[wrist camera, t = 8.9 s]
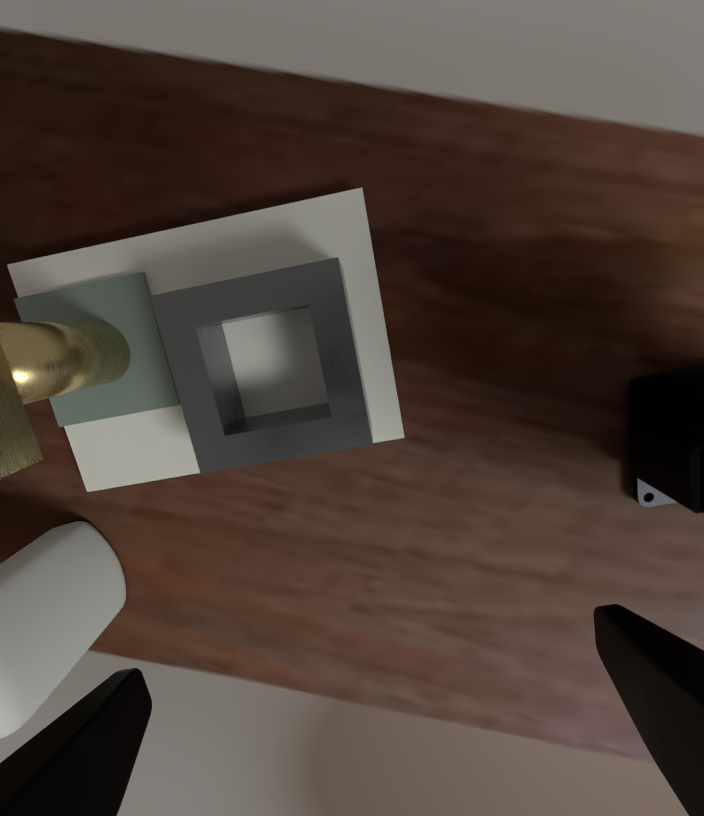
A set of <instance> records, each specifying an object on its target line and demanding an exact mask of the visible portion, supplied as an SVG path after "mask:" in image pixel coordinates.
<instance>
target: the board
mask: <svg viewBox="0 0 704 816" xmlns="http://www.w3.org/2000/svg"><path fill="white" fill-rule="evenodd" d="M336 257H338V258H339V260H340V262H341V264H342V266H343V272H344V277H345V283H346V288H347V293H348V299H349V304H350V309H351V315H352V320H353V326H354V331H355V336H356V342H357V347H358V353H359V358H360V363H361V369H362V374H363V380H364V385H365V390H366V396H367V401H368V407H369V412H370V417H371V423H372V435H373V443H376V442H382V441H388V440H394V439H399V438H404V432H403V426H402V420H401V414H400V408H399V402H398V397H397V391H396V385H395V379H394V373H393V367H392V361H391V355H390V349H389V343H388V337H387V331H386V325H385V320H384V314H383V308H382V302H381V296H380V290H379V284H378V278H377V272H376V266H375V260H374V254H373V249H372V243H371V237H370V231H369V225H368V219H367V213H366V207H365V201H364V195H363V189H362V188H358V189H353V190H349V191H344V192H339V193H335V194H330V195H325V196H321V197H316V198H312V199H307V200H302V201H298V202H293V203H289V204H284V205H279V206H275V207H270V208H266V209H261V210H256V211H252V212H247V213H243V214H238V215H233V216H229V217H224V218H220V219H215V220H210V221H206V222H201V223H196V224H192V225H187V226H183V227H178V228H173V229H169V230H164V231H160V232H155V233H150V234H146V235H141V236H137V237H132V238H127V239H123V240H118V241H114V242H109V243H104V244H100V245H95V246H91V247H86V248H81V249H77V250H72V251H67V252H63V253H58V254H54V255H49V256H44V257H40V258H35V259H31V260H26V261H21V262H17V263H12V264H8V265H7V266H8V269H9V272H10V275H11V278H12V281H13V283H14V286H15V289H16V292H17V295H18V298H20V297H24V296H29V295H34V294H39V293H43V292H48V291H53V290H58V289H63V288H67V287H72V286H77V285H82V284H86V283H91V282H96V281H101V280H105V279H110V278H115V277H120V276H124V275H129V274H134V273H139V272H144V273H145V275H146V278H147V282H148V285H149V289H150V292H151V295H156V294H161V293H166V292H171V291H175V290H180V289H185V288H190V287H195V286H200V285H205V284H210V283H214V282H219V281H224V280H229V279H234V278H239V277H244V276H248V275H253V274H258V273H263V272H268V271H273V270H278V269H282V268H287V267H292V266H297V265H302V264H307V263H312V262H317V261H321V260H326V259H331V258H336ZM222 326H223V330H224V334H225V338H226V342H227V346H228V350H229V354H230V357H231V361H232V365H233V369H234V373H235V377H236V381H237V385H238V389H239V393H240V397H241V401H242V405H243V409H244V413H245V417H252V416H257V415H263V414H268V413H274V412H280V411H285V410H291V409H296V408H302V407H307V406H313V405H318V404H324V403H329V401H328V396H327V391H326V387H325V382H324V377H323V372H322V367H321V362H320V358H319V353H318V348H317V343H316V338H315V333H314V328H313V324H312V319H311V314H310V309H309V307H307V308H302V309H297V310H292V311H287V312H282V313H277V314H272V315H267V316H261V317H256V318H251V319H246V320H241V321H236V322H231V323H226V324H222ZM64 428H65V431H66V433H67V436H68V439H69V442H70V445H71V447H72V450H73V453H74V456H75V459H76V462H77V464H78V467H79V470H80V473H81V476H82V479H83V481H84V484H85V487H86V490H87V492H90V491H96V490H102V489H108V488H114V487H119V486H125V485H131V484H137V483H143V482H149V481H154V480H160V479H166V478H172V477H178V476H184V475H189V474H195V473H200V470H199V467H198V463H197V460H196V456H195V453H194V449H193V446H192V442H191V439H190V435H189V432H188V428H187V425H186V421H185V418H184V414H183V411H182V407H181V405H177V406H171V407H166V408H160V409H155V410H150V411H144V412H139V413H133V414H128V415H123V416H117V417H112V418H106V419H101V420H95V421H90V422H85V423H79V424H74V425H68V426H64Z"/></svg>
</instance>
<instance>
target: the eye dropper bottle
mask: <svg viewBox="0 0 704 816" xmlns="http://www.w3.org/2000/svg"><path fill="white" fill-rule="evenodd" d="M125 600H126V585H125V579H124V574H123V571H122V567H121V565H120V562H119V560H118V558H117V556H116V554H115V552H114V551H113V549H112V548H111V546H110V545H109V543H108V542H107V541H106V540H105V538H104V537H103V536H102V535H101V534H100V533H99V532H98V531H97V530H96V529H95V528H94V527H93V526H92V525H90V524H89V523H86V522H84V521H76V522H72V523H68V524H65V525H61V526H58V527H55V528H52V529H51V530H49V531H48V532H46V533H45V534H43V535H42V536H40V537H39V538H37V539H36V540H34V541H33V542H31V543H30V544H28V545H27V546H26V547H24V548H23V549H21V550H20V551H18V552H17V553H15V554H14V555H12V556H11V557H10V558H8V559H7V560H5V561H4V562H2V563H1V564H0V738H3V737H6V736H8V735H10V734H12V733H13V732H15V731H16V730H17V729H19V728H20V727H21V726H22V725H23V724H24V723H25V722H27V720H29V718H30V717H31V716H32V715H33V714H34V713H35V711H36V710H37V709H38V708H39V707H40V705H42V703H43V702H44V701H45V700H46V699H47V697H48V696H49V695H50V694H51V693H52V691H53V690H54V689H55V688H56V687H57V685H58V684H59V683H60V682H61V681H62V680H63V678H64V677H65V676H66V675H67V674H68V673H69V671H70V670H71V669H72V668H73V666H74V665H75V664H76V663H77V662H78V661H79V659H80V658H81V657H82V656H83V655H84V653H85V652H86V651H87V650H88V649H89V647H90V646H91V645H92V644H93V642H94V641H95V640H96V639H97V638H98V636H99V635H100V634H101V633H102V632H103V630H104V629H105V628H106V627H107V626H108V624H109V623H110V622H111V621H112V620H113V618H114V617H115V616H116V615H117V613H118V612H119V611H120V610H121V608H122V607H123V605H124V602H125Z"/></svg>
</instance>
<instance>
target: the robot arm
mask: <svg viewBox="0 0 704 816" xmlns="http://www.w3.org/2000/svg"><path fill="white" fill-rule="evenodd" d="M643 383H644V385H645V388H644V390H643V391H641V392H640V391H639V387H640V386H641V384H643ZM628 394H629V417H630V423H629V424H628V426H627V430H628V451H629V471H630V473H631V474H632V483H633V497H634V499H635V501H636V502H638V503H639V504H641V505H642V506H645V507H651V506H657V505H664V504H670V503H677V502H678V503H679V504H681V505H683V506H684V507H686V508H688V509H689V510H691V511H693V512H694V513H704V365H702V366H696V367H691V368H685V369H679V370H674V371H668V372H662V373H656V374H651V375H645V376H639V377H636V378H634V379H633V380H632V381H631V382H630V384H629V387H628ZM646 493H649V494H648V496H647V497H646V498H644V499H643V497H644V495H645V494H646ZM594 625H595V639H596V647H597V650H598V653H599V656H600V658H601V660H602V662H603V664H604V666H605V668H606V670H607V672H608V674H609V676H610V678H611V680H612V681H613V683H614V685H615V687H616V689H617V691H618V693H619V695H620V697H621V699H622V701H623V703H624V705H625V707H626V709H627V711H628V712H629V714H630V716H631V718H632V720H633V722H634V724H635V726H636V728H637V730H638V732H639V734H640V736H641V738H642V739H643V741H644V743H645V745H646V747H647V749H648V751H649V752H650V754H651V756H652V757H653V759H654V761H655V762H656V764H657V765H658V767H659V769H660V770H661V772H662V774H663V775H664V777H665V778H666V780H667V781H668V783H669V785H670V786H671V788H672V789H673V791H674V792H675V794H676V796H677V797H678V799H679V800H680V802H681V804H682V805H683V807H684V808H685V810H686V812H687V813H688V814H689V816H704V651H703V650H701V649H700V648H698V647H696V646H694V645H692V644H690V643H689V642H687V641H685V640H683V639H681V638H679V637H678V636H676V635H674V634H672V633H670V632H668V631H667V630H665V629H663V628H661V627H659V626H657V625H656V624H654V623H652V622H650V621H648V620H646V619H645V618H643V617H641V616H639V615H637V614H636V613H634V612H632V611H630V610H628V609H626V608H625V607H623V606H621V605H618V604H612V605H604V606H598V607H596V608H595V610H594ZM151 710H152V700H151V697H150V694H149V691H148V688H147V685H146V683H145V680H144V677H143V674H142V672H141V671H140V670H139V669H136V668H133V669H125V670H120V671H117V672H115V673H114V674H113V675H111V676H110V677H109V678H108V679H106V680H105V681H104V682H103V683H101V684H100V685H99V686H97V687H96V688H95V689H94V690H92V691H91V692H90V693H89V694H88V695H86V696H85V697H84V698H82V699H81V700H80V701H79V702H77V703H76V704H75V705H74V706H72V707H71V708H70V709H68V710H67V711H66V712H65V713H63V714H62V715H61V716H59V717H58V718H57V719H56V720H54V721H53V722H52V723H51V724H49V725H48V726H47V727H46V728H44V729H43V730H42V731H40V732H39V733H38V734H37V735H36V736H34V737H33V738H32V739H30V740H29V741H28V742H26V743H25V744H24V745H23V746H21V747H20V748H19V749H18V750H16V751H15V752H14V753H13V754H11V755H10V756H9V757H7V758H6V759H5V760H4V761H3V762H1V763H0V816H117V813H118V811H119V808H120V805H121V802H122V799H123V797H124V794H125V791H126V788H127V785H128V782H129V779H130V776H131V773H132V770H133V767H134V764H135V761H136V758H137V755H138V751H139V748H140V745H141V743H142V739H143V736H144V733H145V730H146V727H147V724H148V721H149V718H150V715H151Z"/></svg>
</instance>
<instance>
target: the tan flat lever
mask: <svg viewBox="0 0 704 816" xmlns="http://www.w3.org/2000/svg"><path fill="white" fill-rule="evenodd" d="M129 364H130V349H129V345H128V343H127V341H126V339H125V337H124V336H123V334H122V333H121V332H120V331H119V330H118V329H117V328H115V327H114V326H112V325H110V324H108V323H105V322H102V321H59V322H0V478H3V477H5V476H7V475H9V474H12V473H14V472H16V471H18V470H21V469H23V468H25V467H27V466H30V465H32V464H34V463H36V462H39V461H41V460H43V456H42V454H41V451H40V448H39V446H38V443H37V440H36V437H35V435H34V432H33V429H32V427H31V424H30V421H29V418H28V416H27V413H26V410H25V408H24V404H28V403H31V402H35V401H39V400H43V399H47V398H51V397H55V396H59V395H63V394H67V393H70V392H74V391H78V390H82V389H86V388H90V387H94V386H98V385H102V384H106V383H109V382H113V381H116V380H117V379H119V378H120V377H122V376H123V375H124V374H125V372H126V371H127V369H128V367H129Z"/></svg>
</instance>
